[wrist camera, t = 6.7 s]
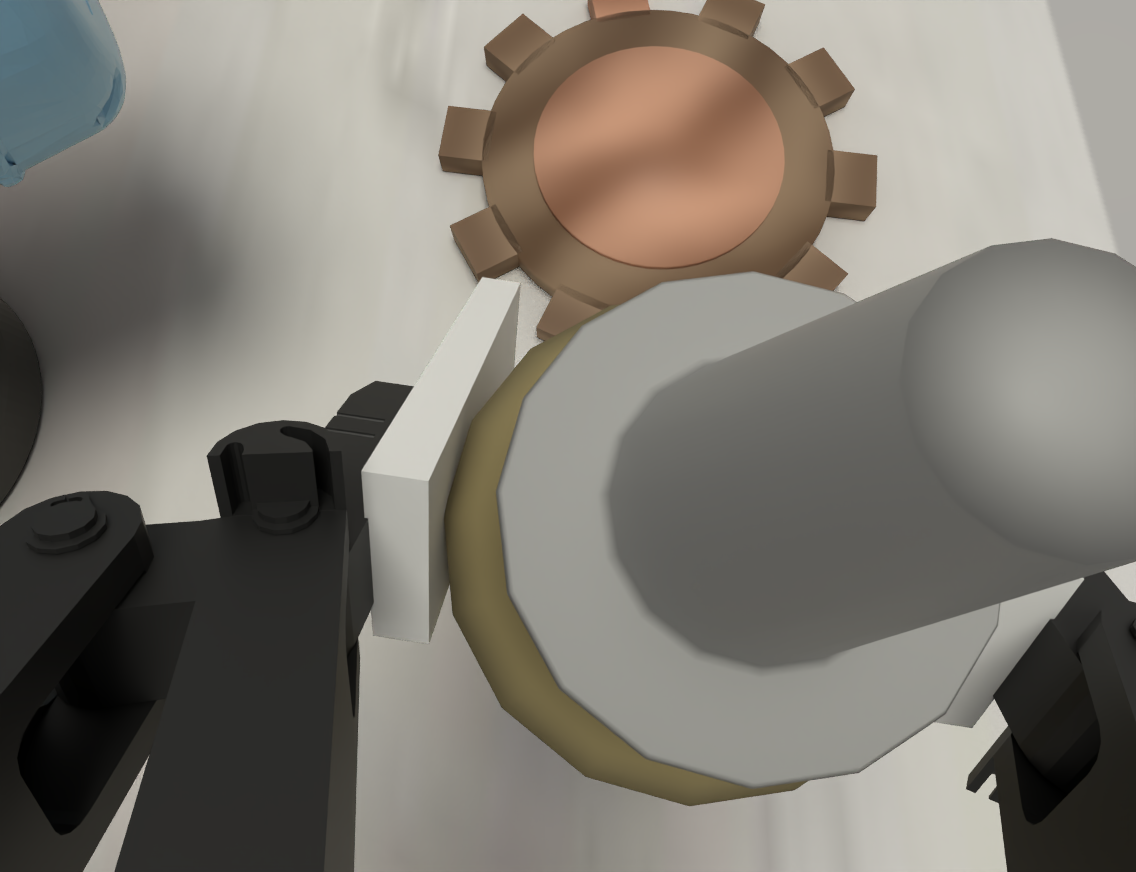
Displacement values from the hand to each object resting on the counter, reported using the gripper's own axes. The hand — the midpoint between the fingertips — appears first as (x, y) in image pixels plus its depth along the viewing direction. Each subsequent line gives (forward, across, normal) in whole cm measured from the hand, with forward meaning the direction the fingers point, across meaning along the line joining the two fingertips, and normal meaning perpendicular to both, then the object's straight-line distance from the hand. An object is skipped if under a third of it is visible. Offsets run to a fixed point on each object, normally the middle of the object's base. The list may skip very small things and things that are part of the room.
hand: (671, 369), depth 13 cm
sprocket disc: (+23, 0, 0) cm, 23 cm away
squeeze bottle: (+3, 0, -8) cm, 8 cm away
